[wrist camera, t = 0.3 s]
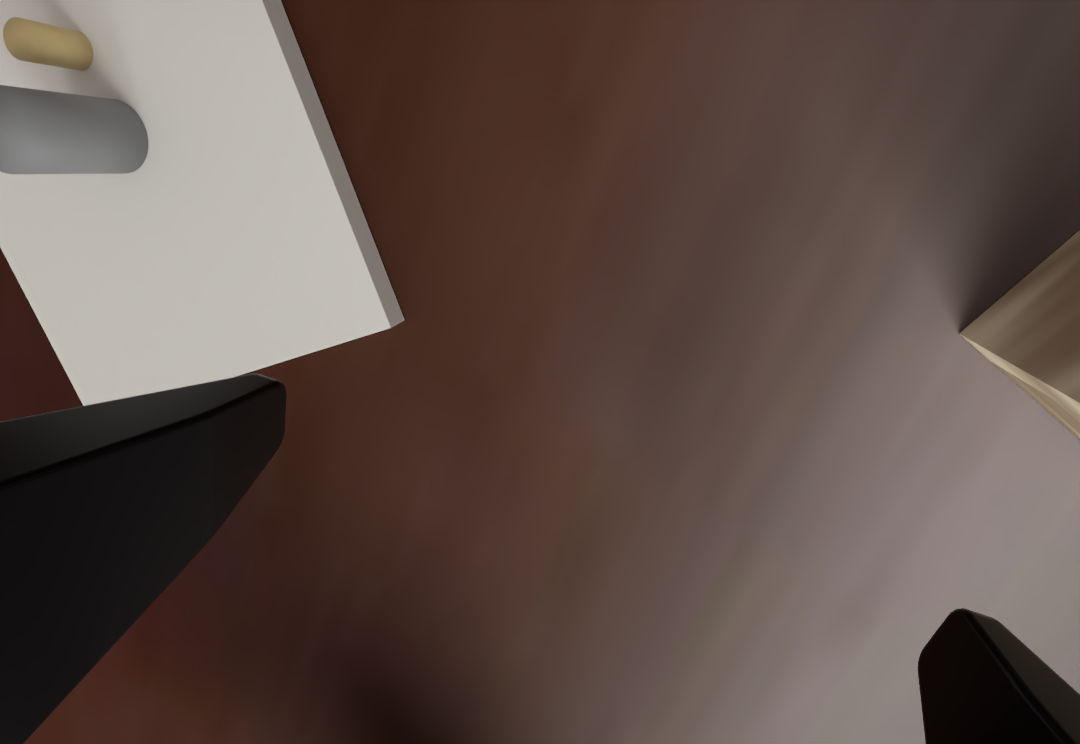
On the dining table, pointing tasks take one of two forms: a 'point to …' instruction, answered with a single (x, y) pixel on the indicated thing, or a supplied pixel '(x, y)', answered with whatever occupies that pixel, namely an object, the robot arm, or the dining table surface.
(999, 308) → the beech collar
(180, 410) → the robot arm
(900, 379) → the dining table surface
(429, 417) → the dining table surface
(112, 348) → the post plate
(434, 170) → the dining table surface
